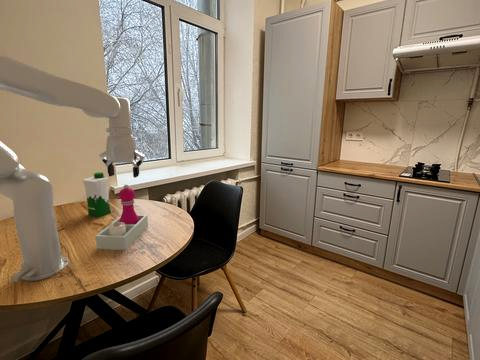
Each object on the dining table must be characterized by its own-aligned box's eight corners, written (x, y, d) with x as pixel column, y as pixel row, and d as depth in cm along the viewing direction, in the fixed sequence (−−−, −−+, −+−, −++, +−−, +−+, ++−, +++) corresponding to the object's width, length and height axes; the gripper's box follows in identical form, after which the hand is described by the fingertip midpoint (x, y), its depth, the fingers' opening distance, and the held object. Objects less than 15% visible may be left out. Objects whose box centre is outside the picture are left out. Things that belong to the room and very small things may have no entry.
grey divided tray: (126, 252, 93) (124, 237, 92) (97, 251, 93) (95, 236, 92) (148, 228, 113) (147, 215, 111) (124, 227, 113) (122, 214, 112)
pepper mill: (118, 230, 107) (113, 184, 102) (135, 225, 112) (131, 181, 107) (125, 236, 102) (120, 188, 97) (142, 231, 107) (138, 184, 102)
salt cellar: (122, 246, 95) (120, 224, 93) (107, 245, 96) (105, 224, 93) (129, 238, 101) (127, 218, 99) (115, 238, 101) (113, 218, 99)
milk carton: (113, 212, 130) (109, 173, 125) (98, 218, 122) (92, 177, 117) (101, 209, 133) (96, 171, 128) (84, 215, 125) (79, 175, 120)
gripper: (92, 131, 94) (96, 177, 98) (139, 133, 93) (141, 179, 97) (103, 130, 101) (107, 173, 105) (147, 132, 101) (149, 175, 105)
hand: (123, 176), depth 101 cm, fingers open, 9 cm apart
